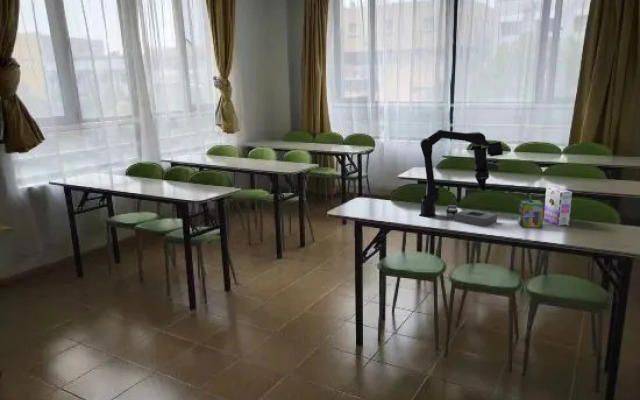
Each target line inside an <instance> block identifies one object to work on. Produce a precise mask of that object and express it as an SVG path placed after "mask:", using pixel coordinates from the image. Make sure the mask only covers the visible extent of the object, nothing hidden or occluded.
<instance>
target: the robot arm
mask: <svg viewBox="0 0 640 400" xmlns="http://www.w3.org/2000/svg"><path fill="white" fill-rule="evenodd" d="M442 139H446V140H448V139H449V140H453V141H454V140H455V141H463V142H464V141H465V142H468V143H471V144H472V145H471V146H470V147H469V150H470V151H473V157H474V166H475V167H474V168H475V169H474V170H475V174H474V175H475V180H476V181H477V183H478V185H479V187H480V189H481V191H485V190H486V184H487V182H486V181H487V180H488V179H489V178H490V173H489V170H491V171H494V172H499V168H500V164H499V163H498V162H497V160H496V159H493V160H492V161H488V160H489V159H488V157H487V156H489V157H496V156H503V155H504V154H503V153H504V151H503V147H502V143H501V142H502V141H500V140H499V141H495V142H490V141H488V140H487V139H486V136H485V134H484V133H482V132H480V131H479V132H478V131H476V132H475V131H474V132H473V131H472V132H460V131H459V132H458V131H451V130H444V129H438V130H437V131H436V132H434V133H432V134H431V135H430V136H428V137H426V138H423V139H422V140H421V141H420V143H419V145H420V148H421V152H422V154H423V158H424V160H423V161H424V170H425V176H426V188H425V189H426V190H425V191H426V193H425V195H424V196H422V197H421V202H422V203H421V204H420V213H419V214H418V216H420V217H425V218H432V217H436V216H437V214H436V204H435V202H437V201H438V200H439V196H440V193H439V191H440V189H439V186H438V185H436V184H435V176H434V168H433V159H432V155H433V146H434V145H435V144H437V143H438V142H439V141H441V140H442ZM481 145H482V146H481Z"/></svg>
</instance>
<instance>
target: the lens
mask: <svg viewBox="0 0 640 400" xmlns="http://www.w3.org/2000/svg"><path fill="white" fill-rule="evenodd" d="M445 210H446V211H445V213H446V214H445V217H446V218H447V219H449V220H450V219H452V220H453V219H454V220H455V213H458V212H459V211H458V210H459V209H458V206H457V205H455V204H448V205H447V206H446V209H445Z"/></svg>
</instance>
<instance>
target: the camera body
mask: <svg viewBox="0 0 640 400" xmlns="http://www.w3.org/2000/svg"><path fill="white" fill-rule="evenodd" d="M497 221H498V214H497V213H492V212H486V211H482V210H481V211H480V210H474V209H468V208H466V209H464V210H461V211H458V213H455V219H454V222H456V223H462V224H467V225H471V226H477V227H482V228H487V227H489V226H491V225H494V224H496V223H497Z"/></svg>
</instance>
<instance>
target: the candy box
mask: <svg viewBox="0 0 640 400" xmlns="http://www.w3.org/2000/svg"><path fill="white" fill-rule="evenodd" d="M572 197H573V191H570V190H567V189H565V188H562V187H560V186H546V187H545V197H544V208H543V220H546V221H547V222H549V223H552V224H553V225H556V226H558V227H559V226H561V227H562V226H563V227H564V226H570V220H571V219H570V218H571V207H572V199H573V198H572Z"/></svg>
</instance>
